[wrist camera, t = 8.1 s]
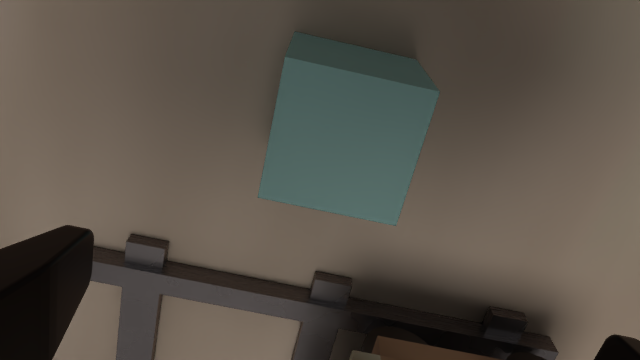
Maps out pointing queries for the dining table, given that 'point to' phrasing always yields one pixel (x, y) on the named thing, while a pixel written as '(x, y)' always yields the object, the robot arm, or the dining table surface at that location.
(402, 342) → the cart
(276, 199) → the block
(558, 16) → the dining table surface
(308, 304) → the rail
